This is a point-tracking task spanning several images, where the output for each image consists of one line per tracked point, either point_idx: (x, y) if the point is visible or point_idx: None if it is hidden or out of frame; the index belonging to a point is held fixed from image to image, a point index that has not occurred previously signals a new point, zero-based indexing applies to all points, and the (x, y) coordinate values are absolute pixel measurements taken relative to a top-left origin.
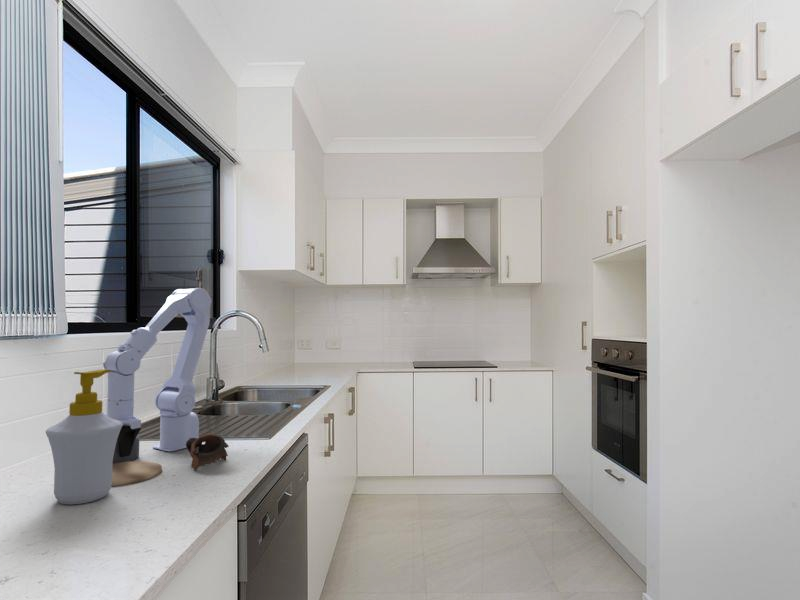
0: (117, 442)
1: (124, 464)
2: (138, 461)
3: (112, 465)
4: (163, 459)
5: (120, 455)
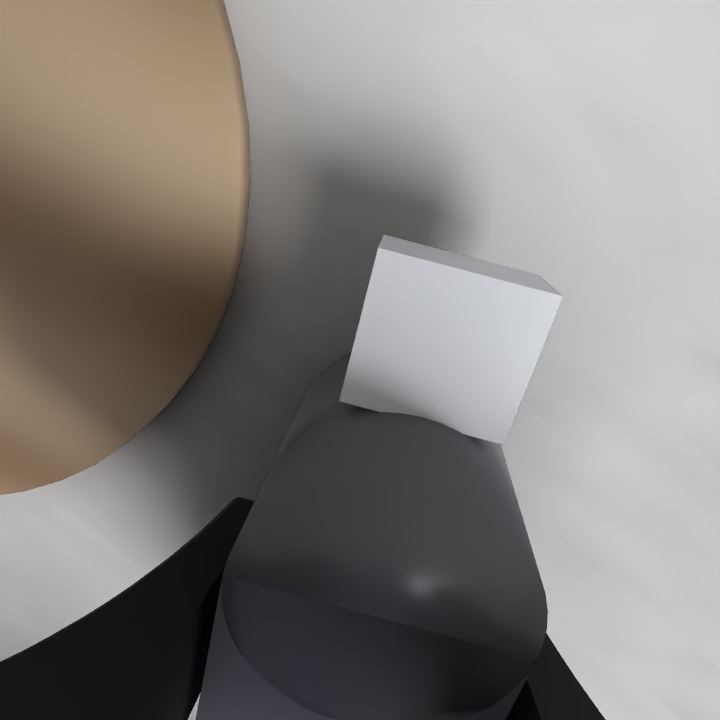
0: (242, 636)
1: (60, 356)
2: (40, 475)
3: (141, 289)
4: (32, 624)
5: (250, 509)
